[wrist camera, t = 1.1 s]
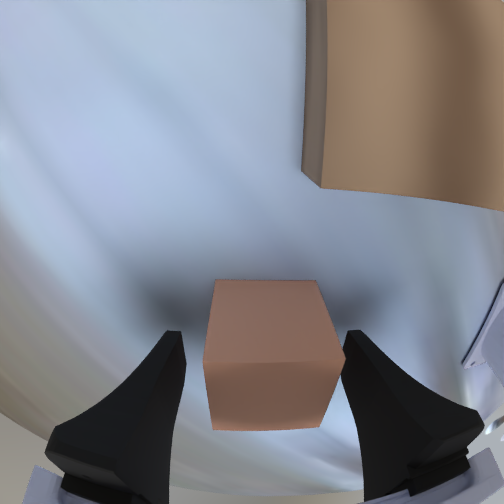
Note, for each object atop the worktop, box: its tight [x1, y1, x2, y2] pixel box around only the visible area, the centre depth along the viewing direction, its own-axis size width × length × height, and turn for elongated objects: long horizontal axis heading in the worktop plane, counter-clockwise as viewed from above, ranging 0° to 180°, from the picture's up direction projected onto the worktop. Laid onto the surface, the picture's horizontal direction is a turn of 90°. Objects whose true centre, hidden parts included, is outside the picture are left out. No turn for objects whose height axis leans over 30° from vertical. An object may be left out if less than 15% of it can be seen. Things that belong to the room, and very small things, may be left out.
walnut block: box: [301, 0, 504, 212], centre depth 7 cm, size 10×10×4 cm
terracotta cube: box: [203, 279, 346, 431], centre depth 12 cm, size 4×4×5 cm
